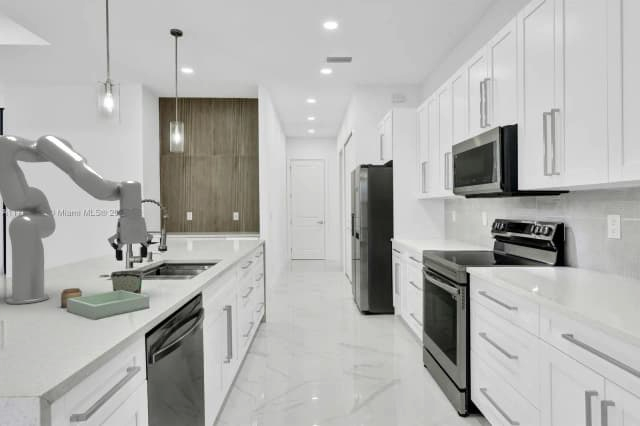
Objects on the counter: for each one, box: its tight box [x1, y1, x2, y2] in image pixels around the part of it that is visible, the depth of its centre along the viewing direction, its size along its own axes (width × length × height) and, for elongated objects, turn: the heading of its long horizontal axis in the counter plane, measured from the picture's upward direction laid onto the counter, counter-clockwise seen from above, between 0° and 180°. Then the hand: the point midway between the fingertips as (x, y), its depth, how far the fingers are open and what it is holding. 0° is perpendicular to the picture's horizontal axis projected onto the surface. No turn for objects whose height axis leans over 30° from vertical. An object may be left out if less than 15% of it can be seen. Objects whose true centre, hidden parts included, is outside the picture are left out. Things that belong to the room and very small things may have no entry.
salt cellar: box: [60, 287, 83, 309], centre depth 137 cm, size 6×6×6 cm
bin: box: [66, 290, 150, 321], centre depth 133 cm, size 18×18×4 cm
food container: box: [110, 270, 145, 294], centre depth 151 cm, size 12×6×10 cm, turn 84°
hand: (132, 259), depth 151 cm, fingers open, 9 cm apart
